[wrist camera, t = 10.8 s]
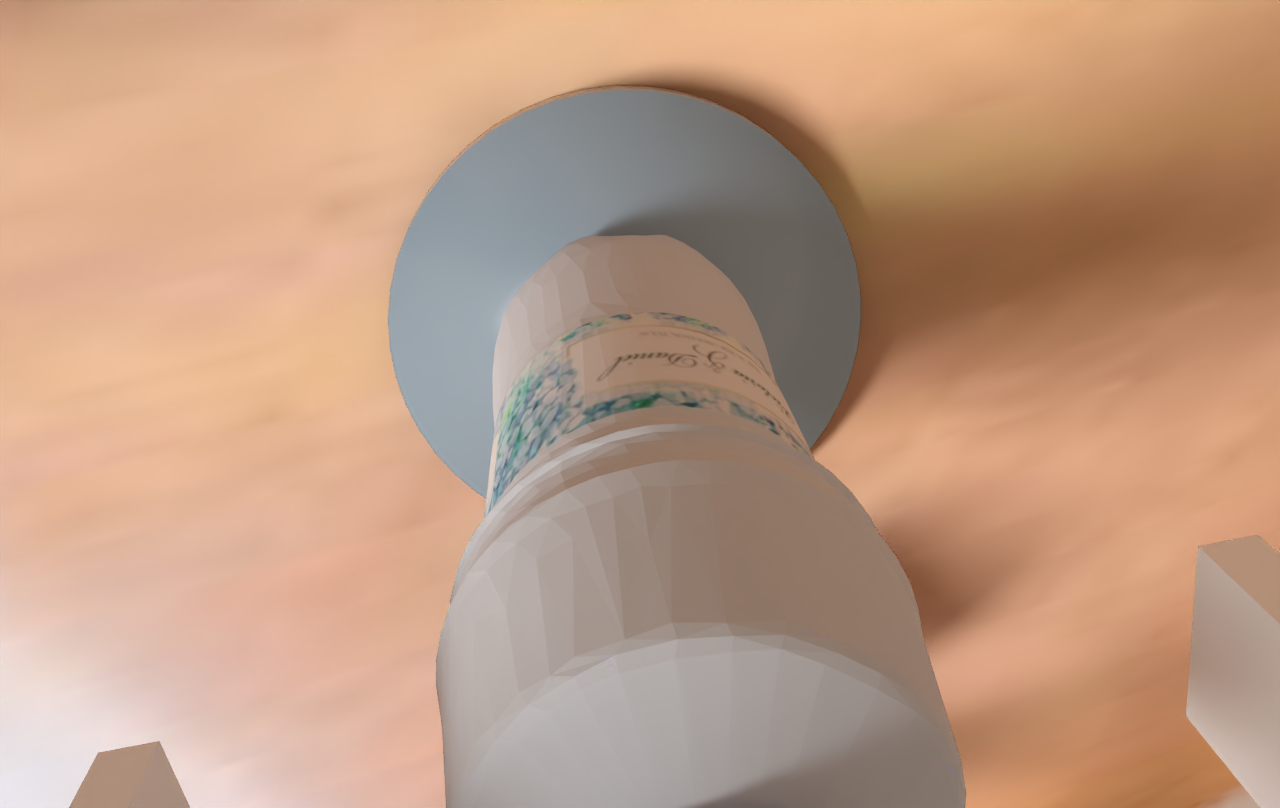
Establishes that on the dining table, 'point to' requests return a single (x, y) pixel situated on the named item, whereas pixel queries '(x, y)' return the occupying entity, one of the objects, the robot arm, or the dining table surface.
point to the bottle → (673, 571)
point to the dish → (616, 206)
